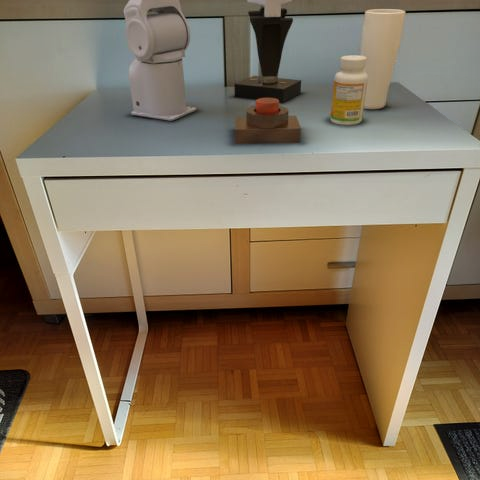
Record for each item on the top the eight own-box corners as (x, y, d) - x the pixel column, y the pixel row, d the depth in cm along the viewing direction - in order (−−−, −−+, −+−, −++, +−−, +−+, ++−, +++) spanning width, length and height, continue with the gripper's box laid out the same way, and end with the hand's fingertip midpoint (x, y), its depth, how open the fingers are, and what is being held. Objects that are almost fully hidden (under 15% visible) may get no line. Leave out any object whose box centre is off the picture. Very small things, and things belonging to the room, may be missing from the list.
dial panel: (234, 97, 93) (234, 82, 91) (254, 88, 99) (254, 74, 97) (283, 103, 89) (283, 88, 87) (300, 93, 94) (301, 79, 93)
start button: (256, 116, 69) (256, 103, 68) (255, 109, 72) (255, 97, 71) (279, 115, 69) (279, 103, 68) (277, 109, 72) (278, 97, 71)
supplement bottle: (339, 115, 82) (347, 53, 75) (367, 120, 79) (376, 56, 73) (324, 122, 78) (330, 58, 72) (352, 127, 76) (360, 61, 70)
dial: (272, 84, 90) (273, 62, 88) (254, 82, 92) (254, 60, 89) (281, 80, 93) (282, 58, 90) (263, 78, 94) (264, 57, 92)
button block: (235, 144, 70) (235, 116, 68) (235, 130, 76) (235, 104, 73) (300, 142, 70) (301, 115, 68) (295, 129, 76) (297, 103, 73)
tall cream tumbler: (387, 112, 82) (405, 13, 73) (349, 109, 84) (362, 12, 75) (390, 103, 87) (407, 9, 78) (354, 100, 89) (367, 8, 79)
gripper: (308, -49, 53) (300, 80, 61) (295, -49, 64) (290, 60, 73) (248, -48, 53) (248, 81, 61) (245, -48, 64) (246, 61, 73)
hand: (268, 70), depth 67 cm, fingers open, 7 cm apart
